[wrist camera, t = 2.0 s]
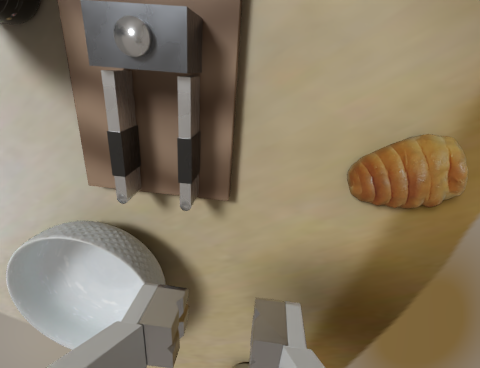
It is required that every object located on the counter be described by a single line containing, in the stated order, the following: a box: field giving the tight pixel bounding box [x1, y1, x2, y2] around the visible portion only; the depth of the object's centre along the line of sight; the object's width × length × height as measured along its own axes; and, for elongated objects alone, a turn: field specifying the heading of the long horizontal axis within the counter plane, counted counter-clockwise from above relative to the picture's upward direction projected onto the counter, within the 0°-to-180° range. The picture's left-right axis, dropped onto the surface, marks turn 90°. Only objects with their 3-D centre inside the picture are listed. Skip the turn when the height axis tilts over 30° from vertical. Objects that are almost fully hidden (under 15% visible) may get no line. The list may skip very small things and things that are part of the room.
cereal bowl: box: [6, 221, 166, 350], centre depth 31 cm, size 17×17×7 cm
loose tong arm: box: [177, 76, 201, 211], centre depth 24 cm, size 12×1×3 cm, turn 176°
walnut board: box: [57, 0, 242, 201], centre depth 25 cm, size 20×15×2 cm
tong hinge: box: [80, 0, 203, 73], centre depth 20 cm, size 4×7×5 cm, turn 86°
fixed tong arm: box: [101, 70, 142, 204], centre depth 24 cm, size 12×1×3 cm, turn 176°
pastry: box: [347, 134, 468, 208], centre depth 25 cm, size 9×7×4 cm
